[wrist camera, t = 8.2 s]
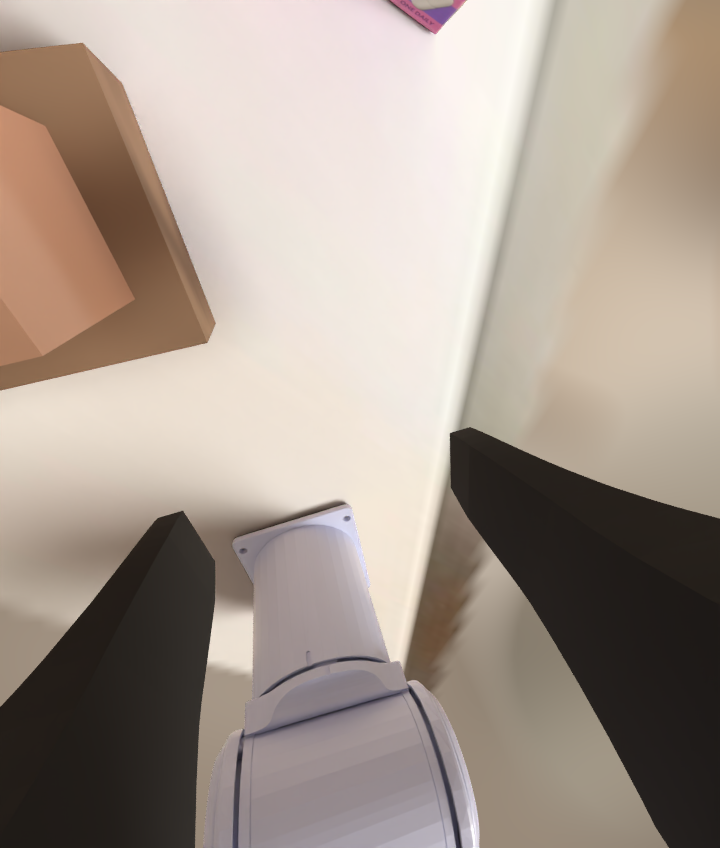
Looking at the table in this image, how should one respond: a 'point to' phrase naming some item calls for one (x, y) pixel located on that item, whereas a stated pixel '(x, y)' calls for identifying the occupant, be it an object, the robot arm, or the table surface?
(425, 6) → the box
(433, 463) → the table surface
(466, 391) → the table surface
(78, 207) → the peach cube
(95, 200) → the walnut slab
